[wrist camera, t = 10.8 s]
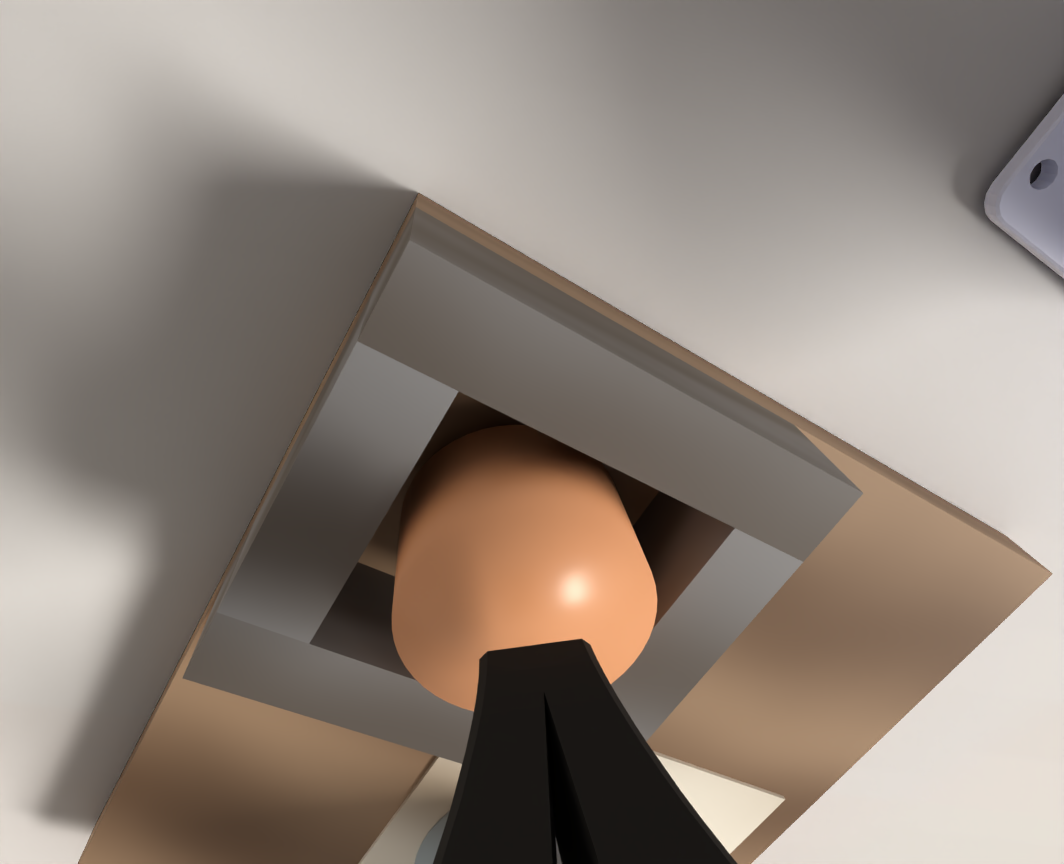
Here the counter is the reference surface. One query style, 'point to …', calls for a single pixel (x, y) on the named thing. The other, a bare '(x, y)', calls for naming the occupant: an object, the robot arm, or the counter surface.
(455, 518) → the button
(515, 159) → the counter surface
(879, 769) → the counter surface
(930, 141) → the counter surface
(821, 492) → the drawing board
